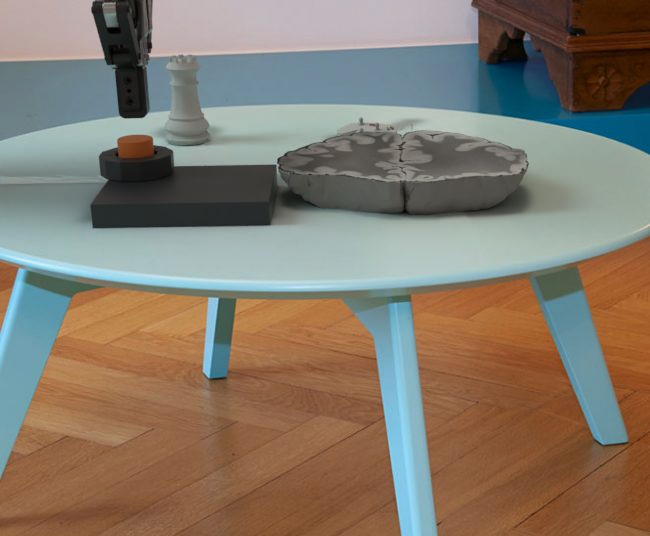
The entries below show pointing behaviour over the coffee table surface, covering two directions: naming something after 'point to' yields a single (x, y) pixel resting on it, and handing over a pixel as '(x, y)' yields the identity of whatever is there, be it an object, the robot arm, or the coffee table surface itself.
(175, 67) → the rook chess piece
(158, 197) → the scale
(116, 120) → the coffee table surface
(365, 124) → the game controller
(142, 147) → the button
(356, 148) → the brain slice
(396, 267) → the coffee table surface
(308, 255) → the coffee table surface
